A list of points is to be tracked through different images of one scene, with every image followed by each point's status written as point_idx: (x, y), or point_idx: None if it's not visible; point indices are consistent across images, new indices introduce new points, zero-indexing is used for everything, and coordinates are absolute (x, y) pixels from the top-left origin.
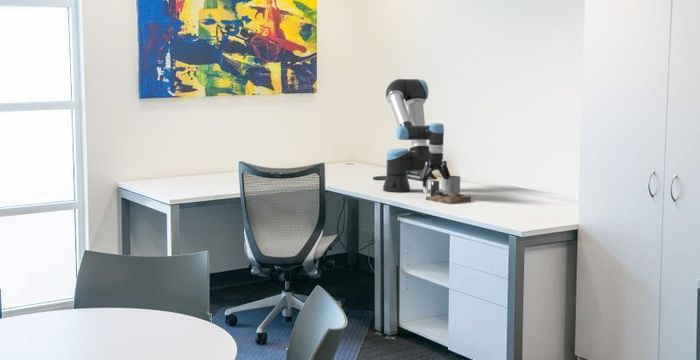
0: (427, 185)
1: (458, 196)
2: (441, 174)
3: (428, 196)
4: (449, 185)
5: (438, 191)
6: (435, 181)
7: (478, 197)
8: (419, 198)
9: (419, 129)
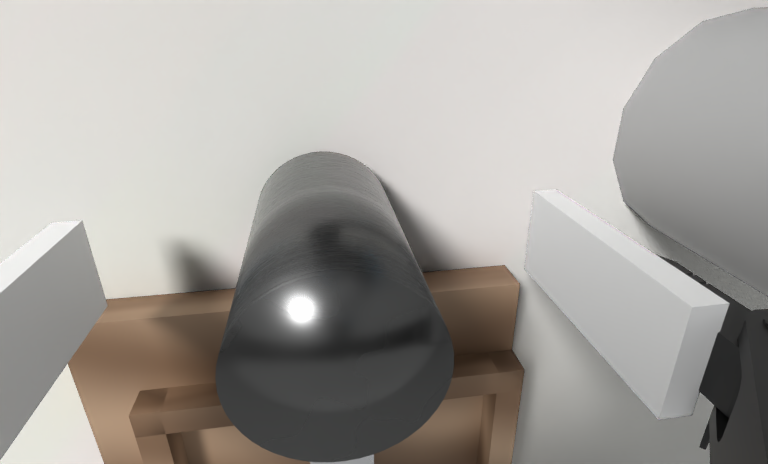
0: (13, 414)
1: (478, 460)
2: (757, 439)
3: (109, 321)
4: (738, 240)
5: None
6: (302, 425)
7: None
8: (20, 174)
9: None
